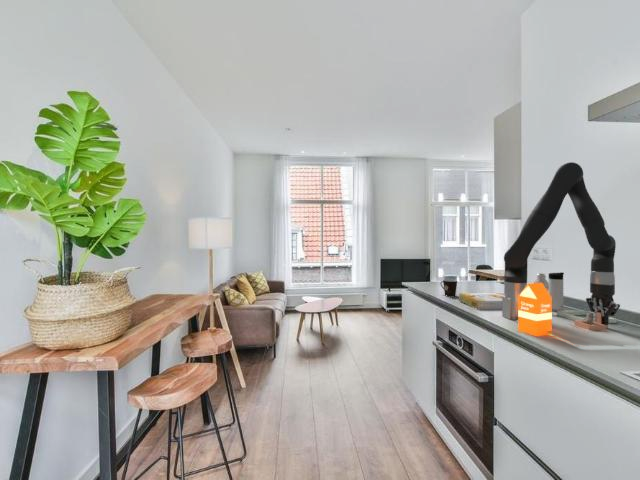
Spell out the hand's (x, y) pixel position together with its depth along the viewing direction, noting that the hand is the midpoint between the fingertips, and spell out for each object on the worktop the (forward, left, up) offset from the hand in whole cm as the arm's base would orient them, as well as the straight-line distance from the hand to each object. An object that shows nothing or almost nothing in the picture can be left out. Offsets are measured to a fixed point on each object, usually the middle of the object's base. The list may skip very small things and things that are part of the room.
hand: (602, 324), depth 127 cm
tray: (+5, +14, -3) cm, 15 cm away
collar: (-3, 0, -1) cm, 4 cm away
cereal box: (-19, +48, -3) cm, 52 cm away
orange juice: (-29, -2, -3) cm, 29 cm away
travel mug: (+7, +34, -3) cm, 35 cm away
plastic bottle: (-5, +28, -3) cm, 29 cm away
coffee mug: (-31, +77, -3) cm, 83 cm away
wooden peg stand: (-5, 0, -3) cm, 6 cm away
